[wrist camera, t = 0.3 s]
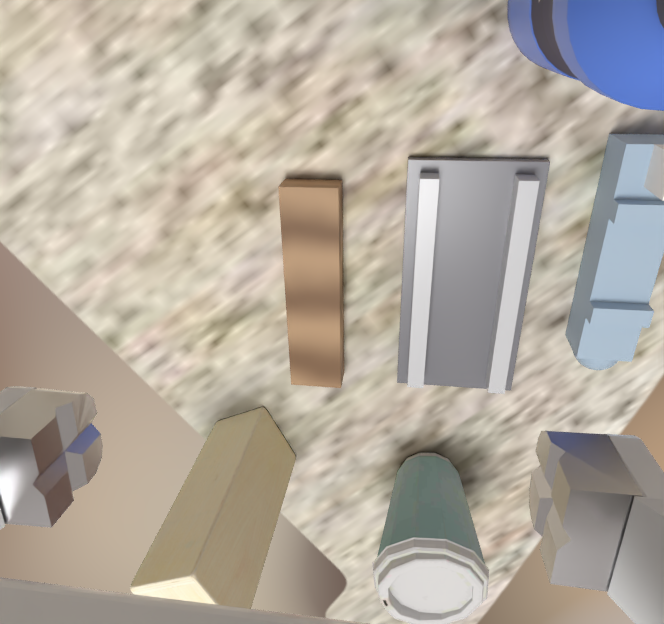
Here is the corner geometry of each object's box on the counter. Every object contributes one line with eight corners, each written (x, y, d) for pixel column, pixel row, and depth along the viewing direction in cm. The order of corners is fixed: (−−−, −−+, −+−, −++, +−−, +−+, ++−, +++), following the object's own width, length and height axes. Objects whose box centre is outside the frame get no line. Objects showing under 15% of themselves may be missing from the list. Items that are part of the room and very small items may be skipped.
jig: (408, 157, 45) (407, 165, 42) (547, 159, 43) (555, 168, 41) (397, 376, 55) (396, 394, 53) (509, 384, 54) (513, 403, 51)
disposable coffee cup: (464, 429, 57) (477, 551, 44) (487, 501, 62) (505, 631, 48) (368, 446, 60) (354, 565, 47) (397, 514, 65) (391, 640, 51)
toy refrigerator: (208, 421, 62) (120, 591, 43) (263, 404, 59) (194, 575, 41) (243, 471, 65) (174, 649, 46) (297, 456, 62) (246, 638, 44)
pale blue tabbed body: (609, 133, 42) (644, 154, 35) (671, 134, 41) (719, 155, 35) (561, 352, 51) (582, 401, 45) (611, 355, 51) (640, 405, 44)
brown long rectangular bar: (286, 177, 48) (278, 186, 45) (343, 178, 47) (338, 188, 44) (297, 367, 57) (291, 384, 54) (344, 370, 56) (340, 387, 54)
